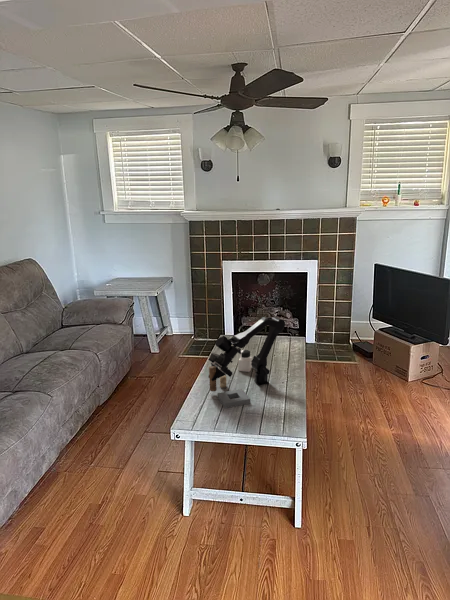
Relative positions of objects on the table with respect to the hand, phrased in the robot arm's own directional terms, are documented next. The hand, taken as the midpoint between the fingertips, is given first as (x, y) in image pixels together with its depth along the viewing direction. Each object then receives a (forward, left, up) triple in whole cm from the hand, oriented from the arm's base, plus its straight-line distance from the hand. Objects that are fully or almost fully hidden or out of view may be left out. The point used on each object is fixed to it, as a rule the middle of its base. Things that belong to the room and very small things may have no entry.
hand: (210, 379), depth 225 cm
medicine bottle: (-29, -24, -10) cm, 39 cm away
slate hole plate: (-9, +10, -9) cm, 17 cm away
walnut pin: (-1, 0, -7) cm, 7 cm away
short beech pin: (-9, -7, -9) cm, 15 cm away
